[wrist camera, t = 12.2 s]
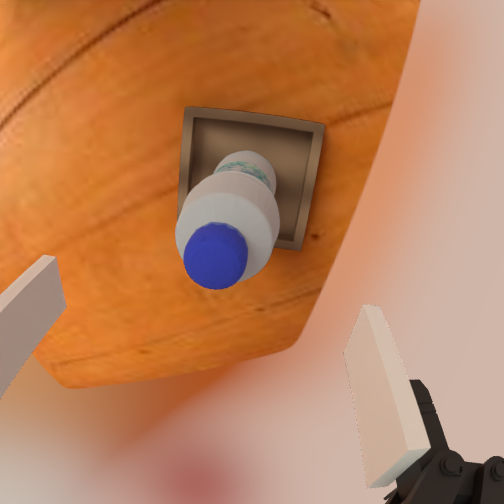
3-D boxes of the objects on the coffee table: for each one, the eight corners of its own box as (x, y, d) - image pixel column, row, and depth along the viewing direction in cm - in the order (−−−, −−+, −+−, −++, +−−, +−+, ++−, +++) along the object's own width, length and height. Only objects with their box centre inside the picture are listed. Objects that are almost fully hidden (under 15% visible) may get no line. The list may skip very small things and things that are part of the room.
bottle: (211, 200, 35) (148, 309, 17) (220, 141, 32) (151, 194, 14) (271, 211, 35) (266, 332, 17) (283, 152, 32) (295, 220, 14)
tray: (190, 106, 31) (184, 106, 29) (321, 123, 31) (325, 124, 29) (182, 225, 38) (176, 233, 35) (299, 242, 37) (300, 251, 35)
